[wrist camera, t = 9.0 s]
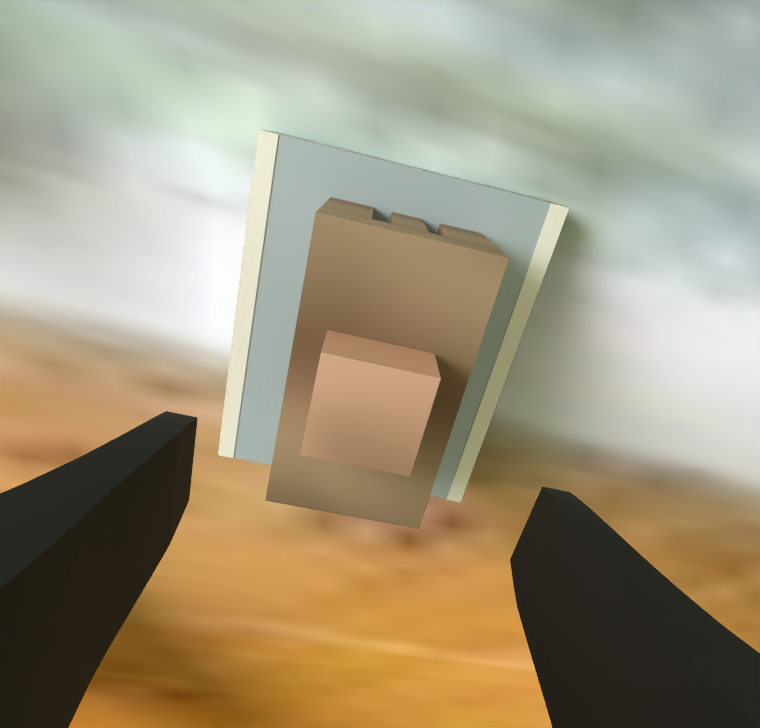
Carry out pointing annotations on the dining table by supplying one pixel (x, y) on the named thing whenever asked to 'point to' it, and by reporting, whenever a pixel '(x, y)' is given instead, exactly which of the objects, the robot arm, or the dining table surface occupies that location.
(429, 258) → the pallet
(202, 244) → the dining table surface
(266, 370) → the dock
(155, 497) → the robot arm
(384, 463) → the tan square block
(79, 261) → the dining table surface
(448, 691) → the dining table surface
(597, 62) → the dining table surface
